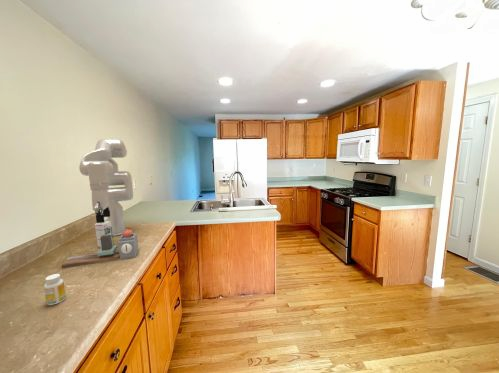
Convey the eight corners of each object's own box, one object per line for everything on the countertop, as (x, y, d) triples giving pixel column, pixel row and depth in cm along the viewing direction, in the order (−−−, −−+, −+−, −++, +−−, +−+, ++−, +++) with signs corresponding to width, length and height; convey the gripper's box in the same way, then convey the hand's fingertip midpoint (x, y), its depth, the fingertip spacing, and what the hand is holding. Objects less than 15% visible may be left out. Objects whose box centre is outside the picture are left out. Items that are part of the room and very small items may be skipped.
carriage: (102, 249, 115) (100, 234, 114) (117, 247, 117) (115, 232, 116) (97, 256, 107) (95, 239, 106) (113, 253, 110) (111, 237, 108)
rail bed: (71, 258, 112) (70, 253, 111) (123, 251, 119) (123, 246, 119) (61, 268, 102) (61, 263, 102) (119, 259, 110) (118, 254, 110)
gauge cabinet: (124, 251, 119) (122, 233, 118) (138, 249, 122) (136, 232, 120) (119, 260, 109) (117, 241, 108) (135, 257, 112) (133, 239, 110)
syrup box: (106, 247, 124) (103, 223, 122) (97, 247, 126) (94, 223, 123) (114, 243, 130) (111, 220, 128) (105, 243, 131) (102, 220, 129)
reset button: (124, 234, 116) (123, 230, 115) (133, 233, 117) (132, 229, 117) (122, 237, 112) (121, 233, 111) (131, 236, 113) (131, 231, 113)
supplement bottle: (48, 307, 76) (43, 282, 74) (45, 301, 79) (41, 277, 78) (67, 299, 80) (63, 275, 78) (64, 294, 83) (60, 271, 82)
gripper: (96, 184, 114) (100, 215, 117) (83, 190, 98) (88, 225, 101) (112, 183, 116) (116, 214, 119) (102, 189, 100) (107, 224, 103)
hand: (103, 219), depth 110 cm, fingers open, 9 cm apart
